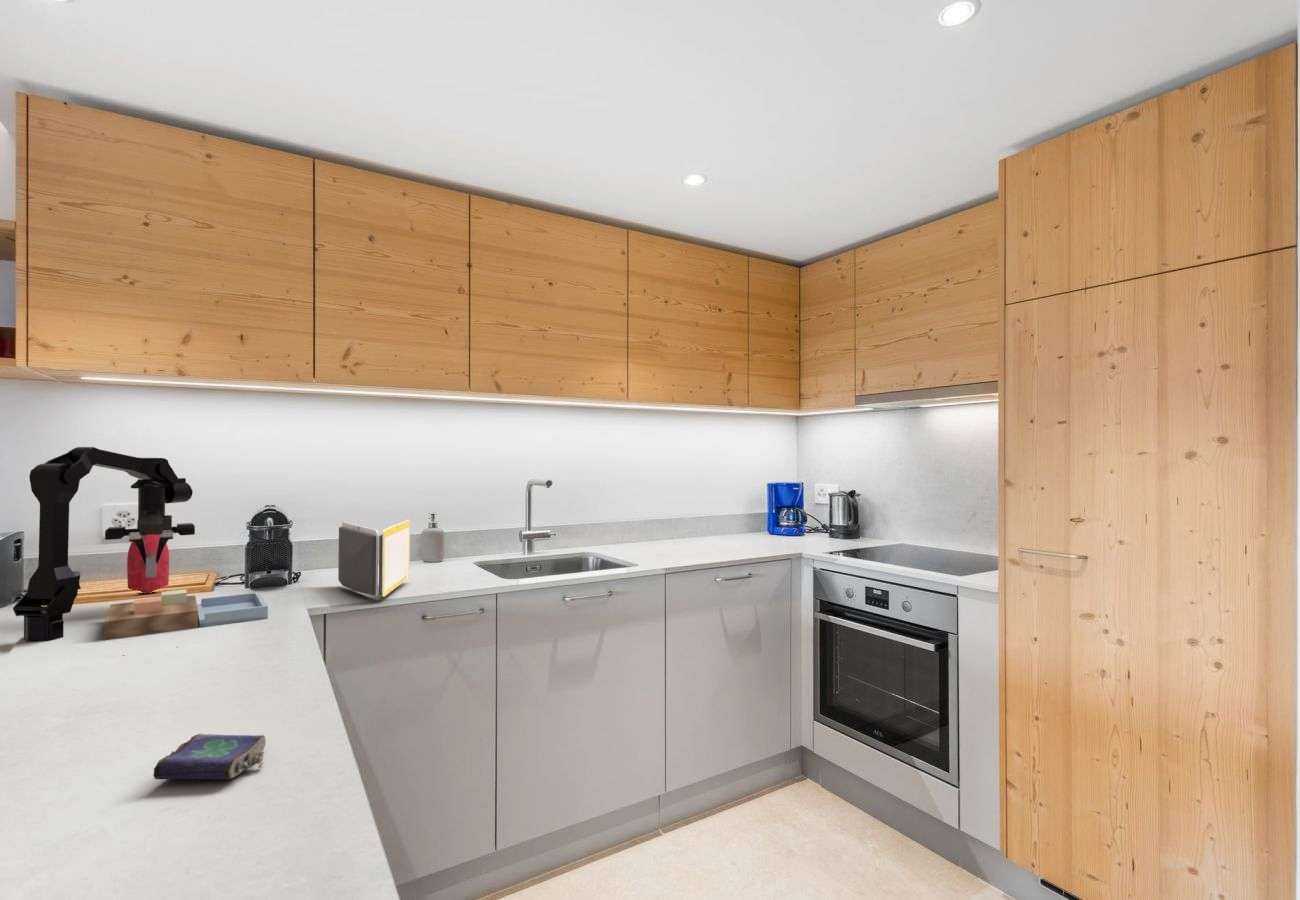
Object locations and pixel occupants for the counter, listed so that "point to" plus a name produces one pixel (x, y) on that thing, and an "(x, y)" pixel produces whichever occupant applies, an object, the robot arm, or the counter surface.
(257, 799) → the counter surface
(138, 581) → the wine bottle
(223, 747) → the navy flat block
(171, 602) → the sage tile
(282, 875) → the counter surface
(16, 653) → the counter surface
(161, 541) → the robot arm
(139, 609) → the terracotta tile
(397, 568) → the folding display board
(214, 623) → the box
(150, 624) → the wood-grain brown block
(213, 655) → the counter surface
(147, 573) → the grey rectangular bar
